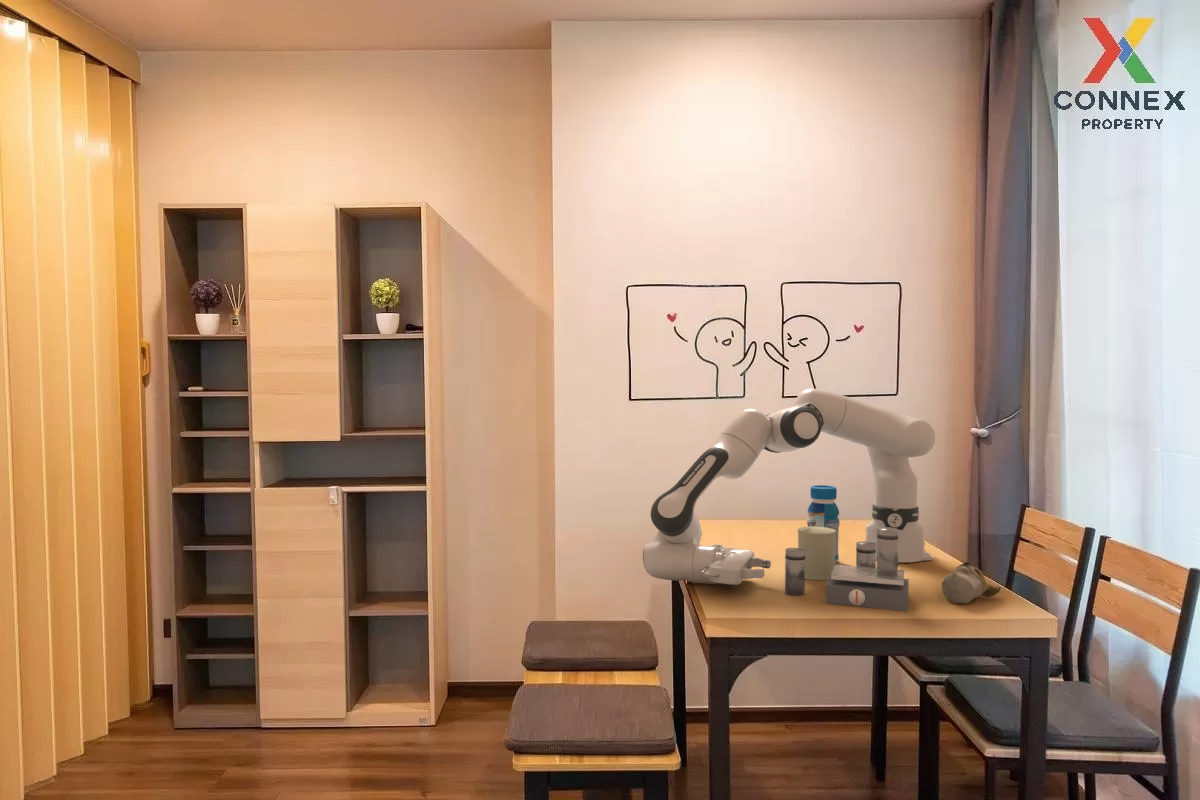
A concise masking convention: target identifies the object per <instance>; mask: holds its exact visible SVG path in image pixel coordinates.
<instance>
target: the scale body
mask: <svg viewBox="0 0 1200 800" xmlns="http://www.w3.org/2000/svg"><path fill="white" fill-rule="evenodd" d="M831 574H832V573H830V576H829V579H828V580H826V581H827V582H826V585H825V604H827V605H828V604H830V605H839V606H840V605H842V606H849V607H850V606H851V607H861V608H872V609H879V610H880V609H882V610H893V611H902V612H903V611H904V612H909V604H910V603H909V595H910V594H909V591H910V589H909V588H910V587H909V586H910V585H909V584H910V581H909V578H904V585H892V584H881V583H869V582H858V581H846V580H835V579H831Z"/></svg>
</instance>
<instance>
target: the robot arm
mask: <svg viewBox="0 0 1200 800" xmlns="http://www.w3.org/2000/svg"><path fill="white" fill-rule="evenodd" d="M821 432H822V433H823V434H827V435H830V436H833V437H837V438H839V439H843V440H845V441H849V442H851V443H855V444H858V445H862V446H865V447H866V449H867V453H868V456H869V460H870V463H871V468H872V472H873V498H874V499H873V504H872V505H871V506H872V508H871V513H872V514H871V518H872V520H871V521H870V522H869V523H867V525H866V528H865V533H866V534H865V542H873V543H875V544H876V560H877V528H879V527H891V528H896V529H898V563H916V562H917V563H918V562H923V561H932V560H933V556H932V555H931V554H930V553H929V552H928V551H927V550H926V549H925V545H926V542H925V529H924V528H923V526H922V525H921V524H920V523H919V519H920V518H919V515H920V511H919V506H918V478H917V476H916V474H915V472H914V470H913V469H912V467H911V464H910V460H909V458H917V457H922V456H925V455H927V454H929V453H930V452H931V451H932V449H933V447H934V445H935V443H936V434H935V430H934V428H933V427H932V425H931V424H930V423H929V422H927V421H925V420H923V419H921V418H918V417H915V416H912V415H910V414H906V413H903V412H900V411H895V410H893V409H888V408H886V407H881V406H879V405H878V406H877V405H874V404H870V403H866V402H864V401H861V400H858V399H855V398H853V397H849V396H845V395H843V394H840V393H838V392H835V391H834V392H832V391H829V390H826V389H818V388H813V387H812V388H806V389H804V390H802V391H801V392H800V393H799V394H797V397H796V399H795V401H794V404H793V406H792V407H787V408H784V409H783V408H782V409H780V410H778V411H775V412H772V413H768V414H765V413H764V412H762V411H760V410H758V409H755V408H746V409H743V410H742V411H741V412H739V413H738V414H737V415H736V416H735V417H734V418H733V419H732V420H731V421H730V422H729V423H728V425H726V427H725V428H724V429H723V431H721V433H720V435H719V436H718V437H717V439H716V440H715V441H714V443H713V444H712V445H711V446H710V448H708V449H706V450H704V452H703V453H702V454H701V455H700V456H699V457H698V458H697V459H696V460H695V461H694V463H693V464H692V465H691V466H690V467H689V468H688V470H687V471H686V472H685V473H684V475H682V477H681V478H679V480H678V481H677V483H676V484H674V485H673V487H671V488H670V489H669V490H667V491H665V492H663V493H662V494H660V495H659V496H658V497H657V498H656V499H655V500H654V502H653V504H652V506H651V508H650V520H651V522H652V524H653V525H654V527H655V528H656V529H657V530H658V531H657V533H656V534H655V536H654V537H653V538H652V539H651V540H650V542H648V543H647V544H645V545H644V547H643V550H642V562H643V566H644V567H643V568H644V569H645V571H646V572H647V573H648V575H649V576H651V577H653V578H655V579H661V580H667V581H674V582H675V581H677V582H681V581H690V582H691V583H697V584H698V583H700V584H711V585H715V584H722V585H731V586H735V585H736V586H737V585H740V584H741V583H742V581H743V580H751V579H764V577H765V570H764V569H767V570H768V569H770V568H771V567H772V560H771V559H764V558H760V557H757V556H755V552H754V551H752V550H748V549H744V548H738V547H737V548H736V547H724V545H723V544H713V545H702V544H700V542H701V540H702V539H701V538H702V536H703V535H702V534H703V530H702V528H703V527H702V525H701V522H700V520H699V518H698V517H697V514H696V512H695V508H696V507H695V506H696V503H697V501H698V500H699V498H700V497H701V496H702V495H703V494H704V493H705V491H706V490H707V489H708V488H709V487H710V485H711V484H712V483H713V482H714V481H715V480H716V479H717V478H720V477H722V478H724V479H729V480H733V479H739V478H742V477H743V476H744V475H745V474H746V473H747V472H748V471H749V470H750V469H751V468H752V466H753V465H754V463H755V462H756V460H757V459H758V457H759V456H760V454H761V453H762V451H763V450H765V451H767V452H770V453H776V454H778V453H783V452H784V453H787V452H788V453H789V452H792V451H797V450H800V449H804V448H807V447H809V446H811V445H813V444H814V443H815V442H816V441H817V440H818V438H819V436H820V434H821ZM757 567H758V568H757ZM752 568H754V569H752ZM755 568H756V569H755Z"/></svg>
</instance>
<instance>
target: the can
mask: <svg viewBox="0 0 1200 800" xmlns="http://www.w3.org/2000/svg"><path fill="white" fill-rule="evenodd" d="M835 533H836V531H835V530H834V529H831V528H826V527H808V526H801V527H798V529H797V535H798V539H797V548H801V549H804V550H805V580H809V581H828V579H829V576H830V573H832V571H833V569H834V566H835V565H836V563H835Z"/></svg>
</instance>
